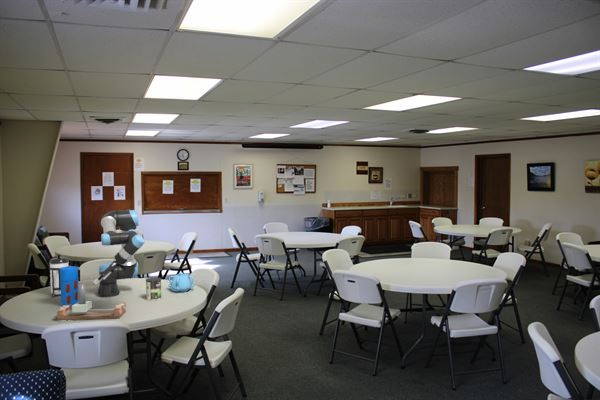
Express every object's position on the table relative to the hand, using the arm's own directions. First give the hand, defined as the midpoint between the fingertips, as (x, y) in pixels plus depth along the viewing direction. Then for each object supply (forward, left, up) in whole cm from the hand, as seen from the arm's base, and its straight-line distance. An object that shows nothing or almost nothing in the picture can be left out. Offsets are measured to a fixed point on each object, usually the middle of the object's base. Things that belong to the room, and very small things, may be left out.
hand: (98, 280), depth 281 cm
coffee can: (-37, +25, -22) cm, 50 cm away
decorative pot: (-58, +40, -22) cm, 74 cm away
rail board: (0, -4, -22) cm, 23 cm away
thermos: (-30, -29, -22) cm, 48 cm away
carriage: (0, -10, -18) cm, 21 cm away
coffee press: (-57, -46, -22) cm, 77 cm away
